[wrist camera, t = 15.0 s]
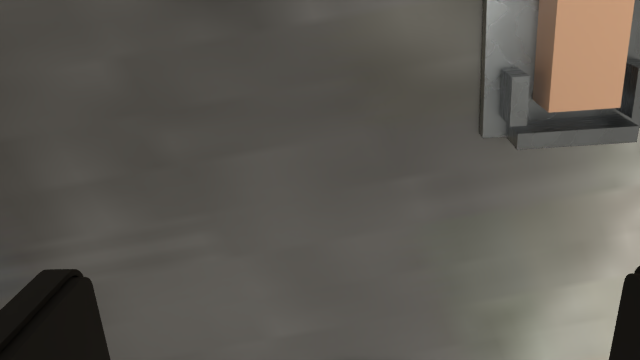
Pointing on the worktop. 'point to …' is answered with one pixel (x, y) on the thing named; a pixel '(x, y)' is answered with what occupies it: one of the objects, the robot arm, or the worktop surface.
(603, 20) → the clay strip
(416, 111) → the worktop surface
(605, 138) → the drying rack
